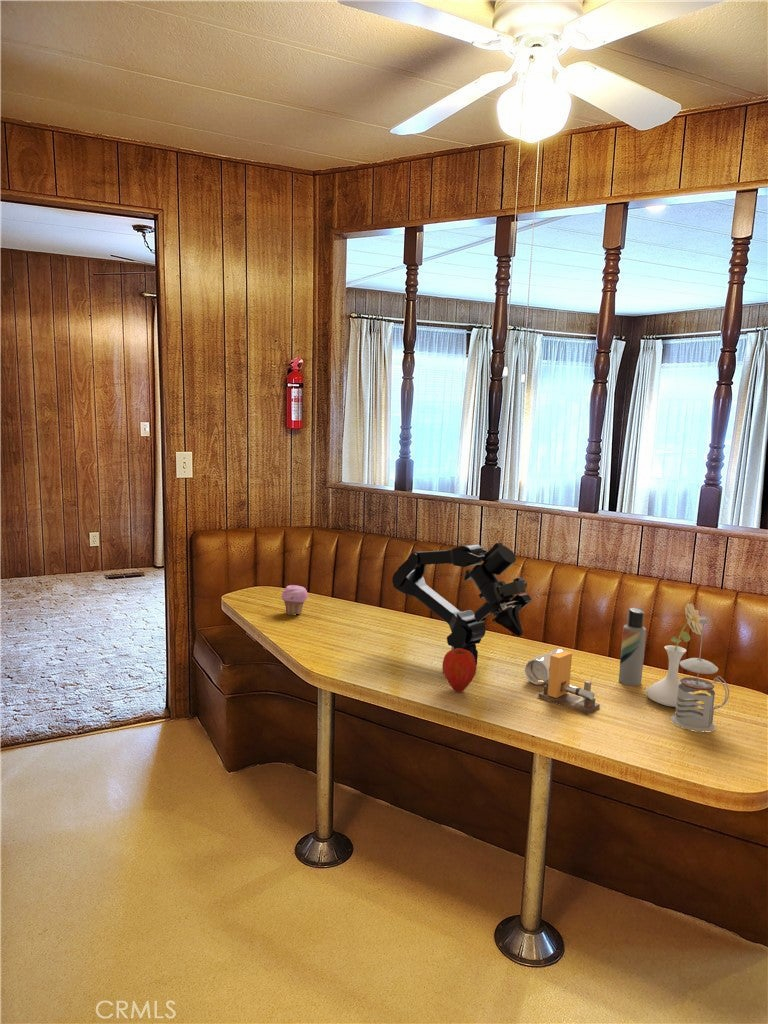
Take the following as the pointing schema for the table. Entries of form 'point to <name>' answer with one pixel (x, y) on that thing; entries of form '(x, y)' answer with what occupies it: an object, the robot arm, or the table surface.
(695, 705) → the french press
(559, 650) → the beer glass
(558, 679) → the collar
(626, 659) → the lotion bottle
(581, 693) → the steel pipe
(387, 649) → the table surface
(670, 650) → the flower in vase
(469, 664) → the red strawberry
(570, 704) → the pipe board
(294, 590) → the cupcake
